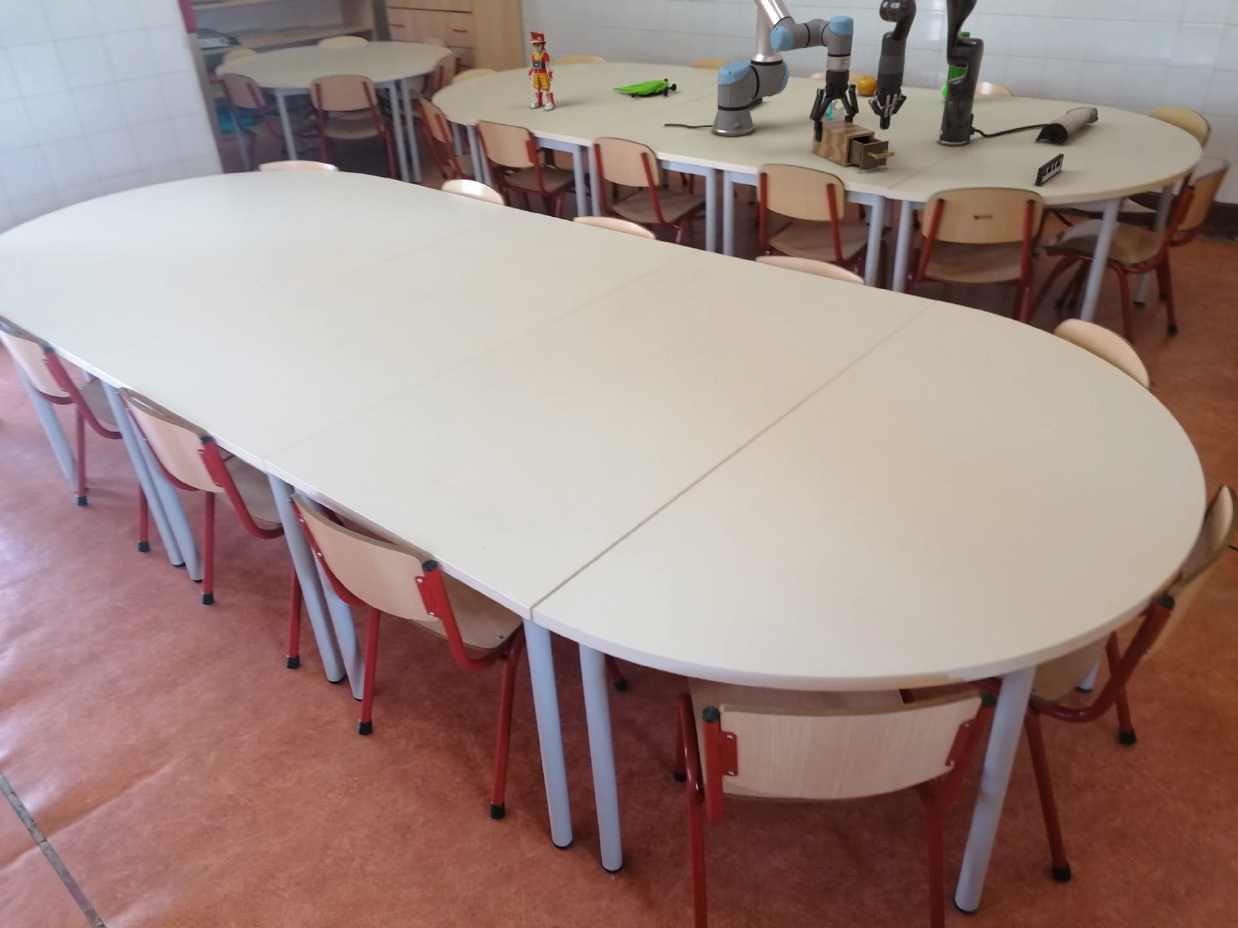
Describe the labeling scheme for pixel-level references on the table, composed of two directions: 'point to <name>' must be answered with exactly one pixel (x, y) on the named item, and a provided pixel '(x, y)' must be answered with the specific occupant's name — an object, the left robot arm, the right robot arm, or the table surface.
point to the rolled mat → (1068, 125)
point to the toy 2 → (648, 88)
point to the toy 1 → (541, 71)
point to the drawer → (868, 152)
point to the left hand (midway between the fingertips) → (832, 138)
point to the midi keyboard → (1049, 169)
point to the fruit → (867, 85)
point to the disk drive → (754, 102)
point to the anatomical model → (834, 111)
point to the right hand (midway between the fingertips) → (884, 129)
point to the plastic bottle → (955, 69)
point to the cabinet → (838, 140)
